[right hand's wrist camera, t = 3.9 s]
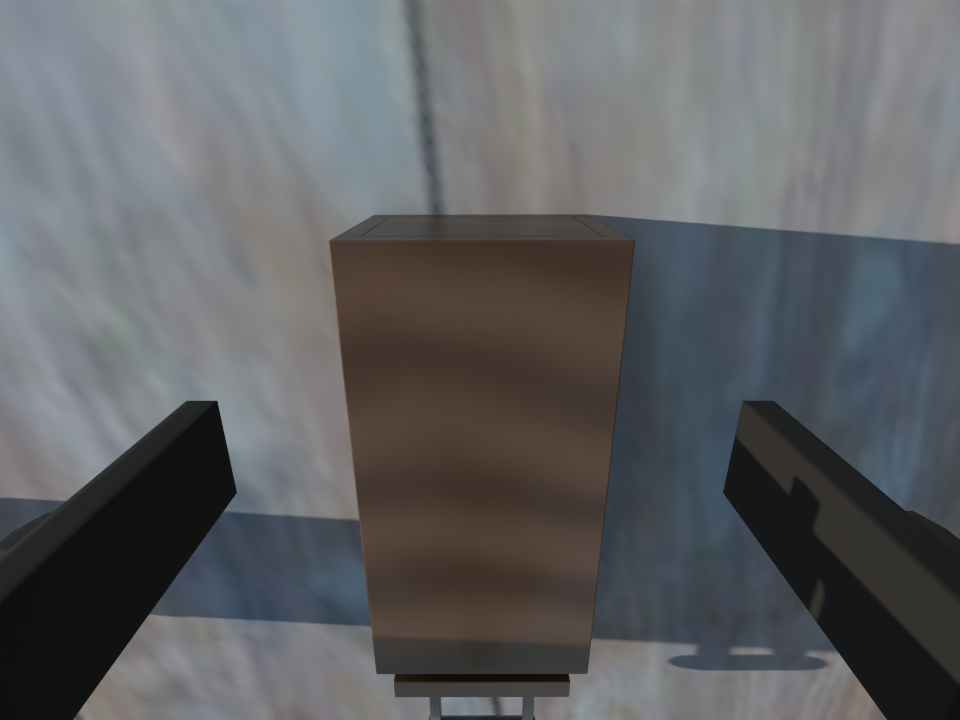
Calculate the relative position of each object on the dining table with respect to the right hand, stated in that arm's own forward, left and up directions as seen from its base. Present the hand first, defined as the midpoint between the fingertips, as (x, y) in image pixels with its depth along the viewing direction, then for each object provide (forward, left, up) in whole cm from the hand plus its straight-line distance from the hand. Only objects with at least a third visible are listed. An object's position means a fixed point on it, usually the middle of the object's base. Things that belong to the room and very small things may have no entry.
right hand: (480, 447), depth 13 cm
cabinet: (+3, +6, -15) cm, 16 cm away
